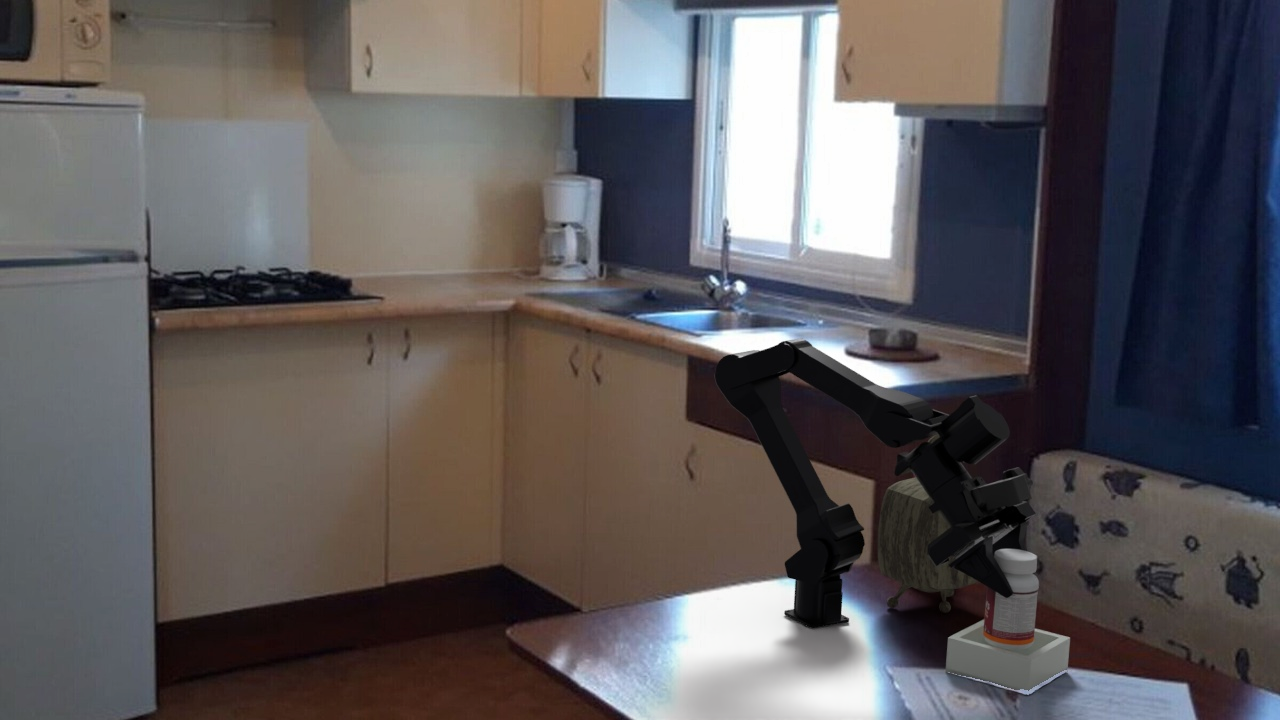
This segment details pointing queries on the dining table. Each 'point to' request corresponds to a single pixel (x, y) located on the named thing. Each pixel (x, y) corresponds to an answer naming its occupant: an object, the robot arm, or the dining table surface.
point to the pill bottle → (1013, 602)
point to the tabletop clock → (914, 543)
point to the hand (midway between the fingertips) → (1022, 590)
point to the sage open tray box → (1007, 658)
